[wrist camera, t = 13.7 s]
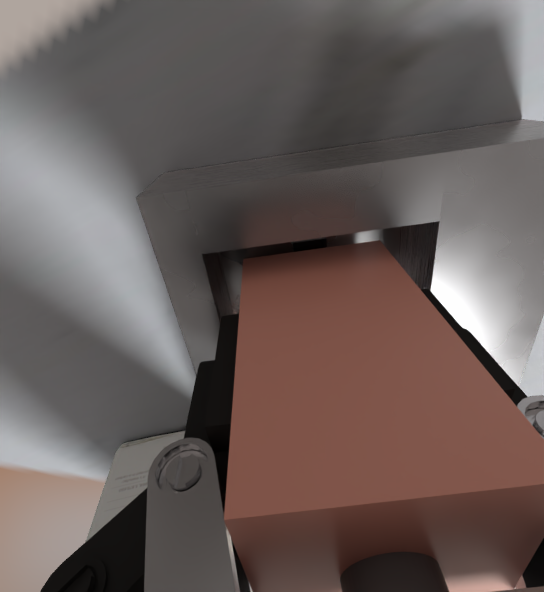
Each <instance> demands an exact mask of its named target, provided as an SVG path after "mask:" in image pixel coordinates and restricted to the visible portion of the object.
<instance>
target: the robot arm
mask: <svg viewBox="0 0 544 592" xmlns="http://www.w3.org/2000/svg"><path fill="white" fill-rule="evenodd" d="M420 290H421V291H422V292H423V293H424V295H425V296H426V297H427V298H428V299H429V301H430V302H431V303H432V304H433V305H434V307H435V308H436V309H437V310H438V312H439V313H440V314H441V315H442V316H443V318H444V319H445V320H446V321H447V322H448V324H449V325H450V326H451V327H452V329H453V330H454V331H455V332H456V333H457V335H458V336H459V337H460V338H461V339H462V341H463V342H464V343H465V344H466V346H467V347H468V348H469V349H470V350H471V352H472V353H473V354H474V355H475V356H476V358H477V359H478V360H479V361H480V363H481V364H482V365H483V366H484V367H485V369H486V370H487V371H488V372H489V373H490V375H491V376H492V377H493V378H494V380H495V381H496V382H497V383H498V384H499V386H500V387H501V388H502V389H503V390H504V392H505V393H506V394H507V395H508V397H509V398H510V399H511V400H512V401H513V403H514V404H515V405H516V406H517V407H518V409H519V410H520V411H521V412H522V414H523V415H524V416H525V417H526V418H527V420H528V421H529V422H530V423H531V424H532V426H533V427H534V428H535V429H536V431H537V432H538V433H539V434H540V435H541V437H542V438H543V439H544V396H543V395H540V396H530V397H527V396H526V395H525V393H524V392H523V391H522V390H521V389H520V388H519V387H518V385H517V384H516V383H515V382H514V381H513V380H512V379H511V378H510V376H509V375H508V374H507V373H506V372H505V371H504V370H503V369H502V367H501V366H500V365H499V364H498V363H497V362H496V361H495V359H494V358H493V357H492V356H491V355H490V354H489V353H488V352H487V350H486V349H485V348H484V347H483V346H482V345H481V344H480V342H479V341H478V340H477V339H476V338H475V337H474V336H473V335H472V333H471V332H470V331H468V330H467V329H465V328H462V327H461V325H460V324H459V323H458V322H457V321H456V320H455V319H454V317H453V316H452V315H451V314H450V313H449V312H448V310H447V309H446V308H445V307H444V306H443V305H442V304H441V302H440V301H439V300H438V299H437V298H436V297H435V295H434V294H433V293H432V292H431V291H430V290H429V289H420ZM238 323H239V314H233V315H225V316H222V317H221V322H220V328H219V335H218V342H217V348H216V355H215V360H211V361H203V362H200V364H199V367H198V371H197V376H196V381H195V386H194V391H193V395H192V400H191V405H190V410H189V415H188V420H187V424H186V429H185V434H184V439H180V440H178V441H175V442H173V443H171V444H170V445H168V446H167V447H166V448H164V449H163V450H162V451H161V452H160V453H159V454H158V455H157V457H156V458H155V459H154V461H153V463H152V465H151V467H150V469H149V474H148V482H147V488H146V489H145V490H144V491H143V492H142V493H141V494H139V495H138V496H137V497H136V498H135V499H134V500H133V501H132V502H130V503H129V504H128V505H127V506H126V507H125V508H124V509H123V510H121V511H120V512H119V513H118V514H117V515H116V516H115V517H114V518H112V519H111V520H110V521H109V522H108V523H107V524H106V525H105V526H103V527H102V528H101V529H100V530H99V531H98V532H97V533H96V534H94V535H93V536H92V537H91V538H90V539H89V540H88V541H87V542H85V544H83V545H82V546H81V547H80V548H79V549H78V550H77V551H75V552H74V553H73V554H72V555H71V556H70V557H69V558H67V559H66V560H65V561H64V562H63V563H62V564H61V565H60V566H59V567H58V568H57V569H56V570H55V572H53V573H52V575H51V576H50V577H49V579H48V580H47V582H46V583H45V585H44V586H43V588H42V589H41V592H253V591H252V589H251V586H250V584H249V581H248V579H247V576H246V574H245V571H244V569H243V566H242V564H241V561H240V559H239V556H238V554H237V551H236V549H235V546H234V544H233V541H232V539H231V536H230V534H229V531H228V529H227V526H226V524H225V521H224V512H225V499H226V485H227V472H228V458H229V445H230V431H231V418H232V404H233V391H234V377H235V364H236V350H237V337H238ZM515 587H516V589H512V590H502V591H493V592H544V538H543V540H542V542H541V543H540V545H539V547H538V548H537V550H536V552H535V554H534V555H533V557H532V559H531V560H530V562H529V564H528V566H527V567H526V569H525V571H524V572H523V574H522V576H521V578H520V579H519V581H518V583H517V584H516V586H515Z"/></svg>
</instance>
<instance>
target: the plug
mask: <svg viewBox="0 0 544 592" xmlns="http://www.w3.org/2000/svg"><path fill="white" fill-rule="evenodd" d="M224 521H225V524H226V526H227V529H228V531H229V534H230V536H231V539H232V541H233V544H234V546H235V549H236V551H237V554H238V556H239V559H240V561H241V564H242V566H243V569H244V571H245V574H246V576H247V579H248V581H249V584H250V586H251V589H252V591H253V592H493V591H502V590H512V589H514V588H515V586H516V584H517V583H518V581H519V579H520V578H521V576H522V574H523V572H524V571H525V569H526V567H527V566H528V564H529V562H530V560H531V559H532V557H533V555H534V554H535V552H536V550H537V548H538V547H539V545H540V543H541V542H542V540H543V538H544V439H543V438H542V437H541V435H540V434H539V433H538V432H537V431H536V429H535V428H534V427H533V426H532V424H531V423H530V422H529V421H528V420H527V418H526V417H525V416H524V415H523V414H522V412H521V411H520V410H519V409H518V407H517V406H516V405H515V404H514V403H513V401H512V400H511V399H510V398H509V397H508V395H507V394H506V393H505V392H504V390H503V389H502V388H501V387H500V386H499V384H498V383H497V382H496V381H495V380H494V378H493V377H492V376H491V375H490V373H489V372H488V371H487V370H486V369H485V367H484V366H483V365H482V364H481V363H480V361H479V360H478V359H477V358H476V356H475V355H474V354H473V353H472V352H471V350H470V349H469V348H468V347H467V346H466V344H465V343H464V342H463V341H462V339H461V338H460V337H459V336H458V335H457V333H456V332H455V331H454V330H453V329H452V327H451V326H450V325H449V324H448V322H447V321H446V320H445V319H444V318H443V316H442V315H441V314H440V313H439V312H438V310H437V309H436V308H435V307H434V305H433V304H432V303H431V302H430V301H429V299H428V298H427V297H426V296H425V295H424V293H423V292H422V291H421V290H420V288H419V287H418V286H417V285H416V284H415V282H414V281H413V280H412V279H411V278H410V276H409V275H408V274H407V273H406V271H405V270H404V269H403V268H402V267H401V265H400V264H399V263H398V262H397V261H396V259H395V258H394V257H393V256H392V254H391V253H390V252H389V251H388V250H387V248H386V247H385V246H384V245H383V244H382V242H381V241H380V240H377V241H370V242H362V243H355V244H348V245H341V246H334V247H326V248H319V249H312V250H305V251H297V252H290V253H283V254H276V255H268V256H261V257H254V258H247V259H243V269H242V283H241V296H240V310H239V323H238V337H237V350H236V364H235V377H234V391H233V404H232V418H231V431H230V445H229V458H228V472H227V485H226V499H225V512H224Z"/></svg>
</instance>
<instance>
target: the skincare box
mask: <svg viewBox="0 0 544 592" xmlns="http://www.w3.org/2000/svg"><path fill="white" fill-rule="evenodd" d="M184 434H185V431H181V432H176V433H171V434H165V435H160V436H154V437H149V438H144V439H141V440H136V441H132V442H127V443H124V444H122V445H121V446H120V447H119V449H118V450H117V451H116V453H115V456H114V459H113V462H112V465H111V468H110V471H109V474H108V477H107V480H106V483H105V486H104V488H103V491H102V494H101V497H100V500H99V504H98V506H97V510H96V513H95V516H94V519H93V522H92V525H91V528H90V531H89V534H88V537H87V540H86V542H87V541H88V540H89V539H90V538H91V537H92V536H93V535H94V534H96V533H97V532H98V531H99V530H100V529H101V528H102V527H103V526H105V525H106V524H107V523H108V522H109V521H110V520H111V519H112V518H114V517H115V516H116V515H117V514H118V513H119V512H120V511H121V510H123V509H124V508H125V507H126V506H127V505H128V504H129V503H130V502H132V501H133V500H134V499H135V498H136V497H137V496H138V495H139V494H141V493H142V492H143V491H144V490H145V489H146V488H147V482H148V474H149V469H150V467H151V465H152V463H153V461H154V459H155V458H156V457H157V455H158V454H159V453H160V452H161V451H162V450H163V449H164V448H166V447H167V446H168V445H170V444H171V443H173V442H175V441H178V440H180V439H184Z"/></svg>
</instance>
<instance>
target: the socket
mask: <svg viewBox="0 0 544 592" xmlns="http://www.w3.org/2000/svg"><path fill="white" fill-rule="evenodd" d="M136 199H137V202H138V205H139V208H140V211H141V214H142V217H143V220H144V222H145V225H146V228H147V231H148V234H149V237H150V240H151V243H152V246H153V249H154V252H155V255H156V258H157V261H158V264H159V267H160V270H161V273H162V275H163V278H164V281H165V284H166V287H167V290H168V293H169V296H170V299H171V302H172V305H173V308H174V311H175V314H176V317H177V320H178V323H179V326H180V329H181V331H182V334H183V337H184V340H185V343H186V346H187V349H188V352H189V355H190V358H191V361H192V364H193V367H194V370H195V373H196V376H197V371H198V367H199V364H200V362H203V361H211V360H215V355H216V348H217V342H218V335H219V328H220V322H221V317H222V316H225V315H233V314H239V310H240V296H241V283H242V269H243V259H247V258H254V257H261V256H268V255H276V254H283V253H290V252H297V251H305V250H312V249H319V248H326V247H334V246H341V245H348V244H355V243H362V242H370V241H377V240H380V241H381V242H382V244H383V245H384V246H385V247H386V248H387V250H388V251H389V252H390V253H391V254H392V256H393V257H394V258H395V259H396V261H397V262H398V263H399V264H400V265H401V267H402V268H403V269H404V270H405V271H406V273H407V274H408V275H409V276H410V278H411V279H412V280H413V281H414V282H415V284H416V285H417V286H418V287H419V288H420V289H429V290H430V291H431V292H432V293H433V294H434V295H435V297H436V298H437V299H438V300H439V301H440V302H441V304H442V305H443V306H444V307H445V308H446V309H447V310H448V312H449V313H450V314H451V315H452V316H453V317H454V319H455V320H456V321H457V322H458V323H459V324H460V325H461V327H462V328H465V329H467V330H468V331H470V332H471V333H472V335H473V336H474V337H475V338H476V339H477V340H478V341H479V342H480V344H481V345H482V346H483V347H484V348H485V349H486V350H487V352H488V353H489V354H490V355H491V356H492V357H493V358H494V359H495V361H496V362H497V363H498V364H499V365H500V366H501V367H502V369H503V370H504V371H505V372H506V373H507V374H508V375H509V376H510V378H511V379H512V380H513V381H514V382H515V383H516V384H517V385H518V387H519V385H520V382H521V379H522V376H523V373H524V370H525V367H526V364H527V361H528V358H529V356H530V353H531V350H532V347H533V344H534V341H535V338H536V335H537V332H538V329H539V326H540V323H541V320H542V318H543V315H544V122H543V121H534V120H525V119H521V120H515V121H508V122H501V123H495V124H488V125H481V126H474V127H468V128H461V129H454V130H447V131H441V132H434V133H427V134H420V135H414V136H407V137H400V138H393V139H387V140H380V141H373V142H366V143H360V144H353V145H346V146H340V147H333V148H326V149H319V150H313V151H306V152H299V153H292V154H286V155H279V156H272V157H265V158H259V159H252V160H245V161H238V162H232V163H225V164H218V165H212V166H205V167H198V168H191V169H185V170H178V171H171V172H164V173H163V174H162V175H161V176H159V177H158V178H157V179H156V180H155V181H154V182H153V183H152V184H151V185H149V186H148V187H147V188H146V189H145V190H144V191H143V192H142V193H141V194H139V195H138V196H137V197H136Z"/></svg>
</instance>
